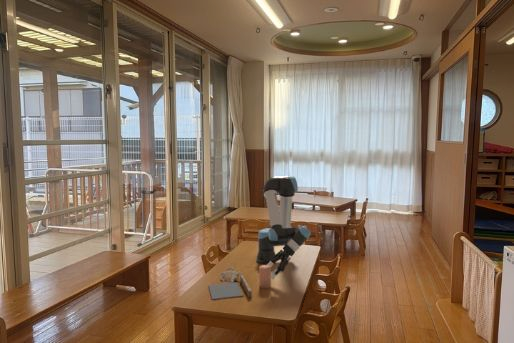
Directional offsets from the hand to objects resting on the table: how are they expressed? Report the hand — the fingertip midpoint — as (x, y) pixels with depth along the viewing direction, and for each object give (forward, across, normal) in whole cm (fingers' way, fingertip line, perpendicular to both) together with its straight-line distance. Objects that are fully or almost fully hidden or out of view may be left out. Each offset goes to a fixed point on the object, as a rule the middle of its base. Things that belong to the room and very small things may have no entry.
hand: (268, 274), depth 224 cm
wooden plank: (+16, 0, +5) cm, 16 cm away
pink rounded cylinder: (+7, +1, -4) cm, 8 cm away
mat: (+24, 0, +14) cm, 28 cm away
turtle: (+20, +18, +9) cm, 28 cm away
